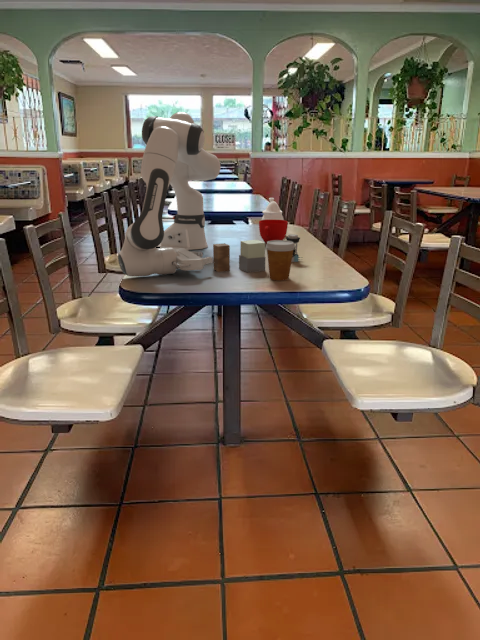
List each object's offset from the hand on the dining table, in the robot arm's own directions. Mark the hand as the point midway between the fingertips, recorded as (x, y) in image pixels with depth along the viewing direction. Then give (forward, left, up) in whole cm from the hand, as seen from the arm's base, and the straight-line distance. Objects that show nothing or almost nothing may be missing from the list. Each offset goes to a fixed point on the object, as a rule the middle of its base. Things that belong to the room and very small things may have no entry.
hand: (206, 257), depth 172 cm
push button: (+26, +25, -5) cm, 37 cm away
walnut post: (+4, +3, -5) cm, 7 cm away
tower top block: (+15, +7, 0) cm, 16 cm away
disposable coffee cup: (+26, -3, -5) cm, 27 cm away
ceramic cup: (+10, +58, -5) cm, 59 cm away
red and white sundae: (+5, +83, -5) cm, 84 cm away
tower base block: (+14, +7, -5) cm, 17 cm away
